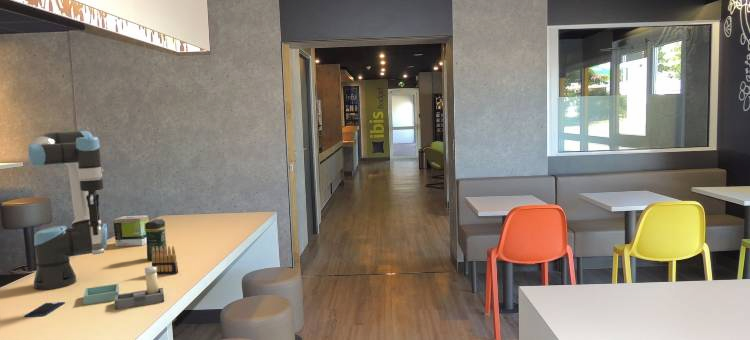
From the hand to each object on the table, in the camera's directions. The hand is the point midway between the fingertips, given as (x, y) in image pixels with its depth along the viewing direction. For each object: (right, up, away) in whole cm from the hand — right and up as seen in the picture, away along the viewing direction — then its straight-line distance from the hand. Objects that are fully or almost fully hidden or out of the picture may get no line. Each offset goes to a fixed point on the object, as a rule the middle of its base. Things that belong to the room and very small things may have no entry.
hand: (97, 242), depth 206 cm
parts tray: (+1, -21, +2) cm, 21 cm away
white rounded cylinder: (+22, -21, -3) cm, 30 cm away
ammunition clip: (+13, -18, +32) cm, 39 cm away
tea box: (-27, -13, +94) cm, 99 cm away
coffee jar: (-1, -16, +60) cm, 62 cm away
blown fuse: (0, -4, 0) cm, 4 cm away
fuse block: (+18, -21, -5) cm, 28 cm away
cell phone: (-14, -23, -8) cm, 29 cm away
